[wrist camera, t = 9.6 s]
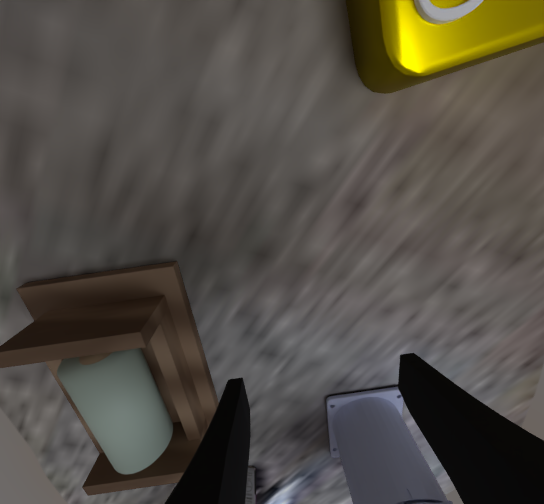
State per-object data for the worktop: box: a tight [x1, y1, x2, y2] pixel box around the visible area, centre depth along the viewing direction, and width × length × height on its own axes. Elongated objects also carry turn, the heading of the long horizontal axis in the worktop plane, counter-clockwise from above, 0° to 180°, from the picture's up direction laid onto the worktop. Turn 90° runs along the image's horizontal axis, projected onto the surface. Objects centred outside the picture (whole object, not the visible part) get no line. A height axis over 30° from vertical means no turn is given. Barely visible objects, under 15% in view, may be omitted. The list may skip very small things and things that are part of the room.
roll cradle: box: [0, 261, 219, 495], centre depth 21 cm, size 20×12×6 cm, turn 8°
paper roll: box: [57, 348, 173, 474], centre depth 20 cm, size 10×5×5 cm, turn 9°
